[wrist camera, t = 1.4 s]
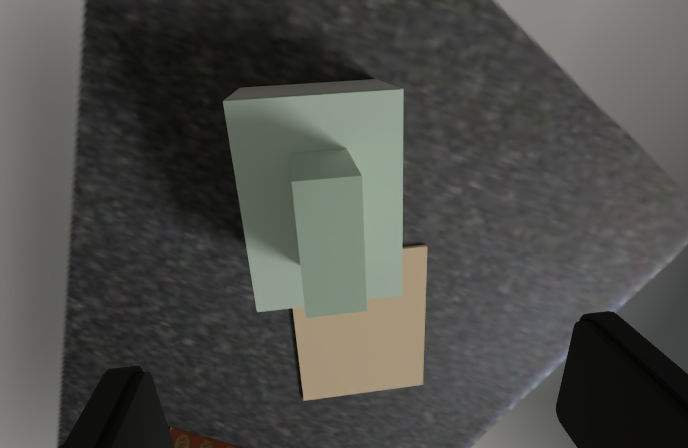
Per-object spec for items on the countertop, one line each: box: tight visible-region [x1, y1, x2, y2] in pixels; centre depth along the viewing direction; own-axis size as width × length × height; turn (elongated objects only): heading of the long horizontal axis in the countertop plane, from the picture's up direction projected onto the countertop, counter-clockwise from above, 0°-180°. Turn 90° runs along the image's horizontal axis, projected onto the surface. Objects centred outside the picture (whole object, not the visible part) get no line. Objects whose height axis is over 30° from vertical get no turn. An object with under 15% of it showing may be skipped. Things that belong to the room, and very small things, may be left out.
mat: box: [293, 245, 427, 401], centre depth 32 cm, size 13×10×1 cm
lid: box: [223, 88, 403, 318], centre depth 19 cm, size 11×8×6 cm
